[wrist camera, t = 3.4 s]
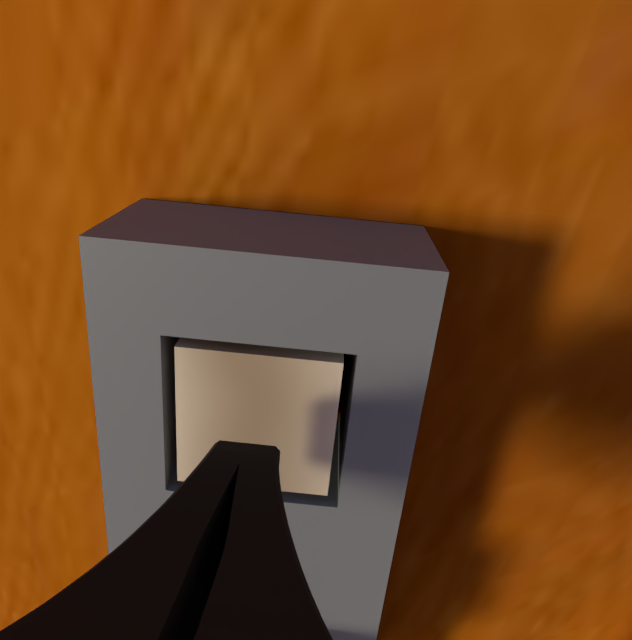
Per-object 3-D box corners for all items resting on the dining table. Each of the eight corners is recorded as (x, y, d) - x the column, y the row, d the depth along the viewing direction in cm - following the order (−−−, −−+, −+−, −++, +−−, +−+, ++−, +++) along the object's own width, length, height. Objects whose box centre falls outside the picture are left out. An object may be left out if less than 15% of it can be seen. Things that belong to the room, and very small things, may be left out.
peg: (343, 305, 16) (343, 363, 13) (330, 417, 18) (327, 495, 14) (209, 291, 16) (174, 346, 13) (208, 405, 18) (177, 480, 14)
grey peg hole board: (423, 226, 15) (449, 272, 12) (351, 648, 23) (352, 758, 19) (141, 198, 15) (78, 235, 12) (160, 628, 23) (126, 734, 19)
